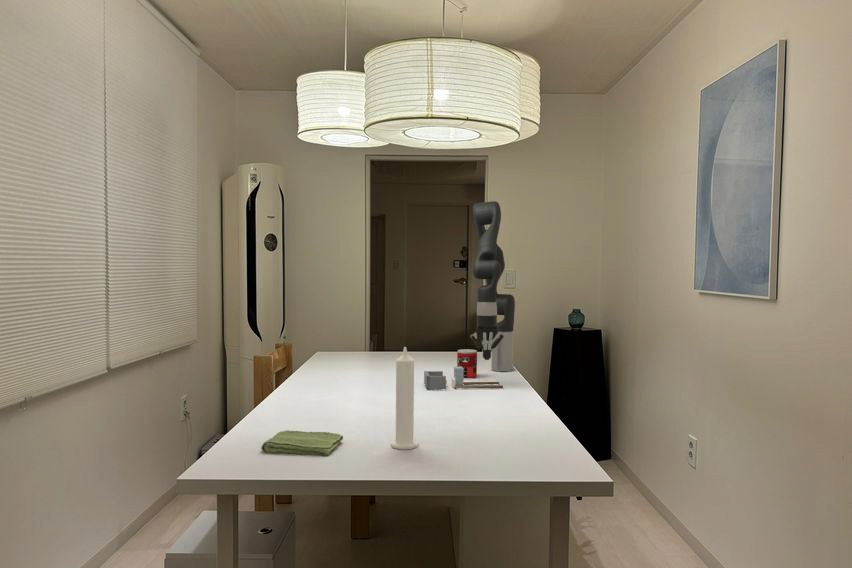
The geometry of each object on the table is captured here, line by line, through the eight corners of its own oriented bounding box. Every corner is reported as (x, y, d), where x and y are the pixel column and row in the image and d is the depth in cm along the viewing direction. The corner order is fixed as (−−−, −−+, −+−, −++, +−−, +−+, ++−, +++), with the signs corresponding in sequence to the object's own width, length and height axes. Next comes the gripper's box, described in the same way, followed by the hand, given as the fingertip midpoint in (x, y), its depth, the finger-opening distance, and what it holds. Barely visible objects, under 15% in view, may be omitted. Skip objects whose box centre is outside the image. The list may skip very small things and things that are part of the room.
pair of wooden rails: (452, 384, 229) (452, 382, 229) (498, 384, 230) (498, 381, 230) (454, 389, 221) (454, 386, 221) (503, 388, 222) (503, 386, 222)
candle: (403, 439, 156) (403, 344, 156) (424, 445, 152) (425, 346, 151) (384, 445, 151) (385, 346, 150) (405, 451, 146) (406, 349, 146)
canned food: (453, 376, 246) (454, 349, 246) (470, 375, 250) (471, 348, 249) (462, 379, 239) (463, 352, 239) (480, 378, 243) (480, 351, 242)
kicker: (451, 384, 227) (451, 366, 227) (461, 384, 228) (461, 366, 228) (453, 387, 222) (453, 368, 222) (463, 387, 223) (463, 368, 222)
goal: (424, 384, 230) (424, 371, 229) (442, 384, 230) (442, 371, 230) (426, 390, 219) (426, 376, 218) (445, 390, 219) (445, 376, 219)
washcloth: (330, 458, 142) (330, 445, 142) (259, 455, 144) (259, 442, 144) (344, 442, 155) (344, 430, 155) (278, 439, 157) (278, 427, 157)
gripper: (501, 312, 229) (501, 357, 230) (467, 313, 228) (467, 358, 229) (506, 314, 222) (506, 361, 223) (471, 315, 221) (471, 361, 221)
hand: (486, 359), depth 226 cm, fingers closed
